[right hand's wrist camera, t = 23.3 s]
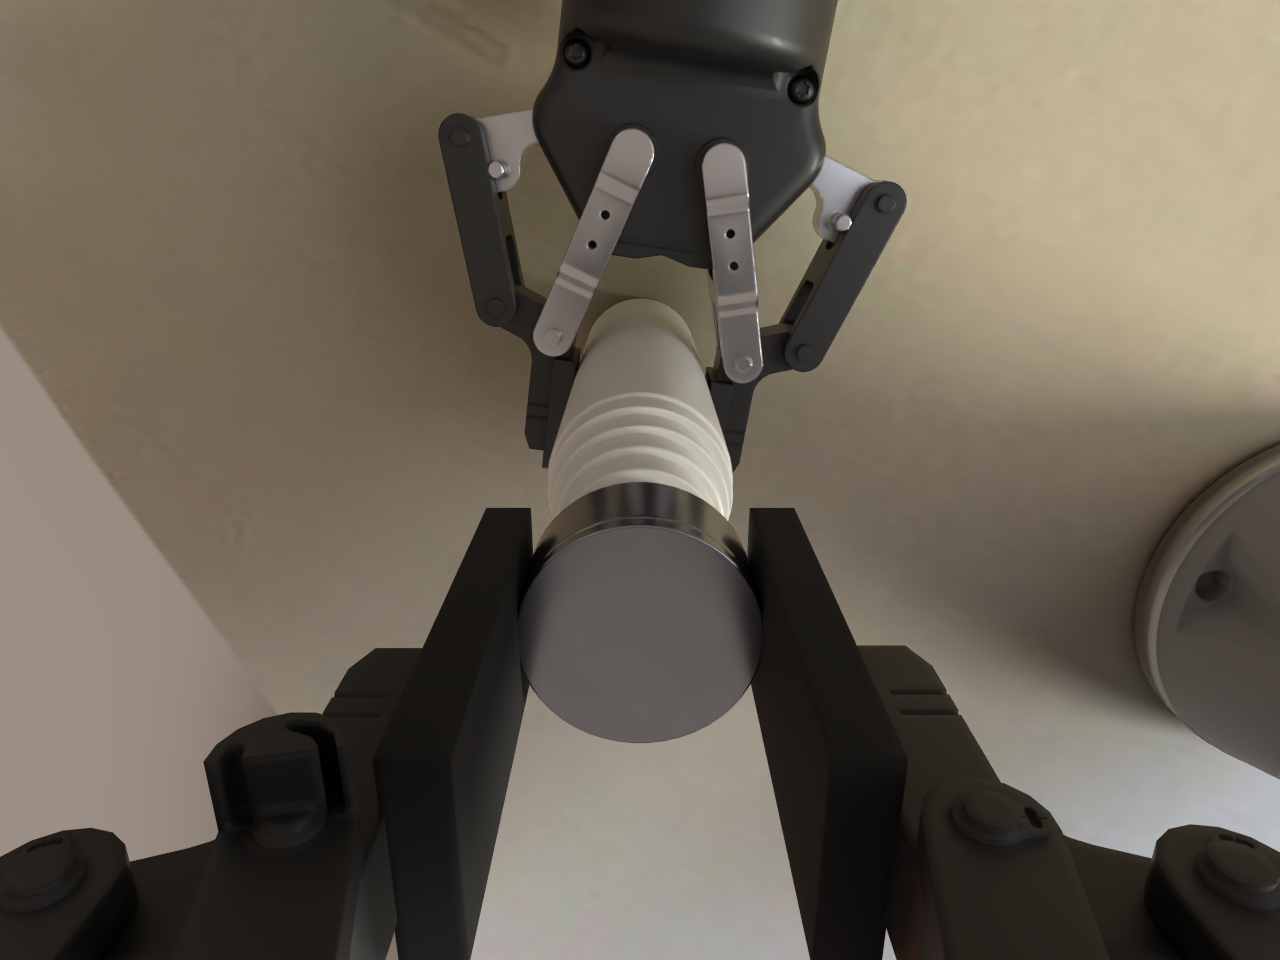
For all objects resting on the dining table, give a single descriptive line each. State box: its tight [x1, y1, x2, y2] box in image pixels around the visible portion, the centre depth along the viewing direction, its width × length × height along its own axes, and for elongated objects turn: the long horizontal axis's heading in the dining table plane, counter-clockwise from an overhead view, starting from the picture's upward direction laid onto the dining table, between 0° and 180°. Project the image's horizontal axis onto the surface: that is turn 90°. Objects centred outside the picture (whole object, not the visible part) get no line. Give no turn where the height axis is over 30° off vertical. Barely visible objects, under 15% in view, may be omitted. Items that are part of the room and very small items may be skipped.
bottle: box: [547, 298, 733, 521], centre depth 23 cm, size 4×4×21 cm
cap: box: [517, 482, 763, 743], centre depth 14 cm, size 4×4×2 cm
